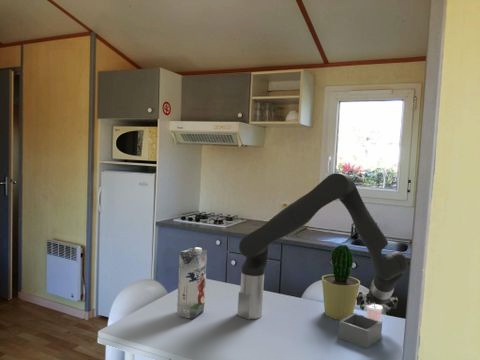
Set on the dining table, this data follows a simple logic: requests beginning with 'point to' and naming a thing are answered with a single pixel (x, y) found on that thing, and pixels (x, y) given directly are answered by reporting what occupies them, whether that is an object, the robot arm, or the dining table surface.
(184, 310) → the juice carton
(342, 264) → the potted cactus
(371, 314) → the beverage cup
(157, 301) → the dining table surface
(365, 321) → the bin
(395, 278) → the robot arm
